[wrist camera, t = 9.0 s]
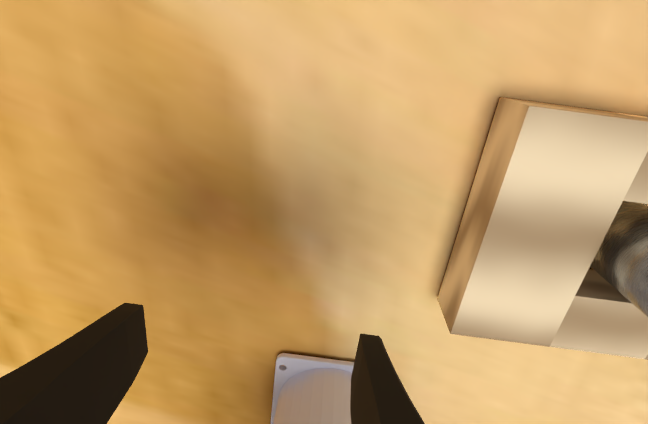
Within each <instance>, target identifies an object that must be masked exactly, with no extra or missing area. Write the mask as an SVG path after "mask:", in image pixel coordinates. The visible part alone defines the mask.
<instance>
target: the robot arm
mask: <svg viewBox="0 0 648 424" xmlns="http://www.w3.org/2000/svg"><path fill="white" fill-rule="evenodd" d="M147 353H148V347H147V338H146V328H145V319H144V309H143V305H138V304H130V303H124V304H122V305H120V306H119V307H117V308H115V309H114V310H112V311H111V312H109V313H108V314H106V315H104V316H103V317H101V318H100V319H98V320H97V321H95V322H94V323H92V324H91V325H89V326H87V327H86V328H84V329H83V330H81V331H80V332H78V333H76V334H75V335H73V336H72V337H70V338H68V339H67V340H65V341H64V342H62V343H60V344H59V345H57V346H55V347H54V348H52V349H50V350H49V351H47V352H45V353H44V354H42V355H40V356H38V357H37V358H35V359H33V360H32V361H30V362H28V363H26V364H25V365H23V366H21V367H19V368H18V369H16V370H14V371H12V372H10V373H8V374H7V375H5V376H3V377H1V378H0V424H107V422H108V421H109V419H110V417H111V416H112V414H113V413H114V411H115V410H116V408H117V407H118V405H119V404H120V402H121V401H122V399H123V397H124V396H125V394H126V393H127V391H128V390H129V388H130V386H131V385H132V383H133V381H134V380H135V378H136V376H137V374H138V372H139V370H140V368H141V366H142V363H143V361H144V359H145V357H146V355H147ZM281 365H284V366H281ZM270 424H425V423H424V422H423V420H422V418H421V417H420V415H419V413H418V412H417V410H416V408H415V407H414V405H413V403H412V401H411V400H410V398H409V396H408V394H407V392H406V390H405V389H404V387H403V385H402V383H401V381H400V379H399V377H398V375H397V373H396V371H395V369H394V367H393V365H392V363H391V361H390V358H389V356H388V354H387V352H386V349H385V347H384V344H383V342H382V339H381V338H380V337H379V336H375V335H367V334H360V338H359V343H358V348H357V352H356V357H355V362H349V361H341V360H334V359H326V358H318V357H311V356H303V355H295V354H288V353H281V354H279V355H278V356H277V359H276V367H275V379H274V390H273V401H272V412H271V423H270Z"/></svg>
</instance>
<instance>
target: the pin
mask: <svg viewBox="0 0 648 424" xmlns="http://www.w3.org/2000/svg"><path fill="white" fill-rule="evenodd" d="M590 267H591V268H593V269H594V270H595V271H596V272H597V273H598V274H599V275H600V276H602V277H603V278H604V279H605V280H606V281H607V282H608V283H610V284H611V285H612V286H613V287H614V288H615V289H616V290H617V291H619V292H620V293H621V294H622V295H623V296H624V297H625V298H627V299H628V300H629V301H630V302H631V303H632V304H633V305H635V306H636V307H637V308H638V309H639V310H640V311H641V312H642V313H644V314H645V315H646V316H647V317H648V207H647V206H645V205H643V204H641V203H636V202H629V201H623V202H622V204H621V206H620V208H619V210H618V212H617V214H616V216H615V218H614V220H613V222H612V224H611V226H610V227H609V229H608V231H607V233H606V235H605V237H604V239H603V241H602V243H601V245H600V247H599V249H598V251H597V253H596V255H595V257H594V259H593V261H592V263H591V265H590Z"/></svg>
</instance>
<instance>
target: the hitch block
mask: <svg viewBox="0 0 648 424" xmlns="http://www.w3.org/2000/svg"><path fill="white" fill-rule="evenodd" d="M623 201H629V202H636V203H644V204H648V117H646V116H639V115H631V114H624V113H616V112H609V111H601V110H594V109H586V108H579V107H571V106H564V105H556V104H549V103H541V102H534V101H526V100H519V99H511V98H504V97H500V99H499V102H498V105H497V108H496V112H495V115H494V118H493V121H492V124H491V128H490V131H489V134H488V137H487V141H486V144H485V147H484V150H483V153H482V157H481V160H480V163H479V166H478V170H477V173H476V176H475V179H474V183H473V186H472V189H471V192H470V195H469V199H468V202H467V205H466V208H465V212H464V215H463V218H462V221H461V224H460V228H459V231H458V234H457V237H456V241H455V244H454V247H453V250H452V253H451V257H450V260H449V263H448V266H447V270H446V273H445V276H444V279H443V282H442V286H441V289H440V292H439V295H438V302H439V305H440V307H441V310H442V313H443V315H444V318H445V321H446V323H447V326H448V329H449V331H450V334H456V335H463V336H471V337H479V338H486V339H494V340H502V341H509V342H517V343H525V344H532V345H540V346H548V347H555V348H563V349H571V350H578V351H586V352H594V353H601V354H609V355H617V356H624V357H632V358H640V359H647V360H648V317H647V316H646V315H645V314H644V313H642V312H641V311H640V310H639V309H638V308H637V307H636V306H635V305H633V304H632V303H631V302H630V301H629V300H628V299H627V298H625V297H624V296H623V295H622V294H621V293H620V292H619V291H617V290H616V289H615V288H614V287H613V286H612V285H611V284H610V283H608V282H607V281H606V280H605V279H604V278H603V277H602V276H600V275H599V274H598V273H597V272H596V271H595V270H590V269H589V267H590V265H591V263H592V261H593V259H594V257H595V255H596V253H597V251H598V249H599V247H600V245H601V243H602V241H603V239H604V237H605V235H606V233H607V231H608V229H609V227H610V226H611V224H612V222H613V220H614V218H615V216H616V214H617V212H618V210H619V208H620V206H621V204H622V202H623Z"/></svg>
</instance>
